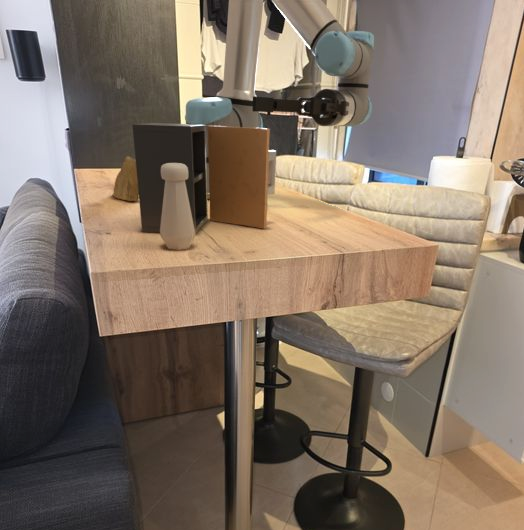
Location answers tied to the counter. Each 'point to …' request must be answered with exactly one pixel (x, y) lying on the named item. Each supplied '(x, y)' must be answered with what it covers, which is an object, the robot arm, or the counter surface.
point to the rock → (127, 181)
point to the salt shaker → (176, 208)
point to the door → (240, 174)
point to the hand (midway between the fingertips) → (281, 105)
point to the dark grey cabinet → (170, 151)
